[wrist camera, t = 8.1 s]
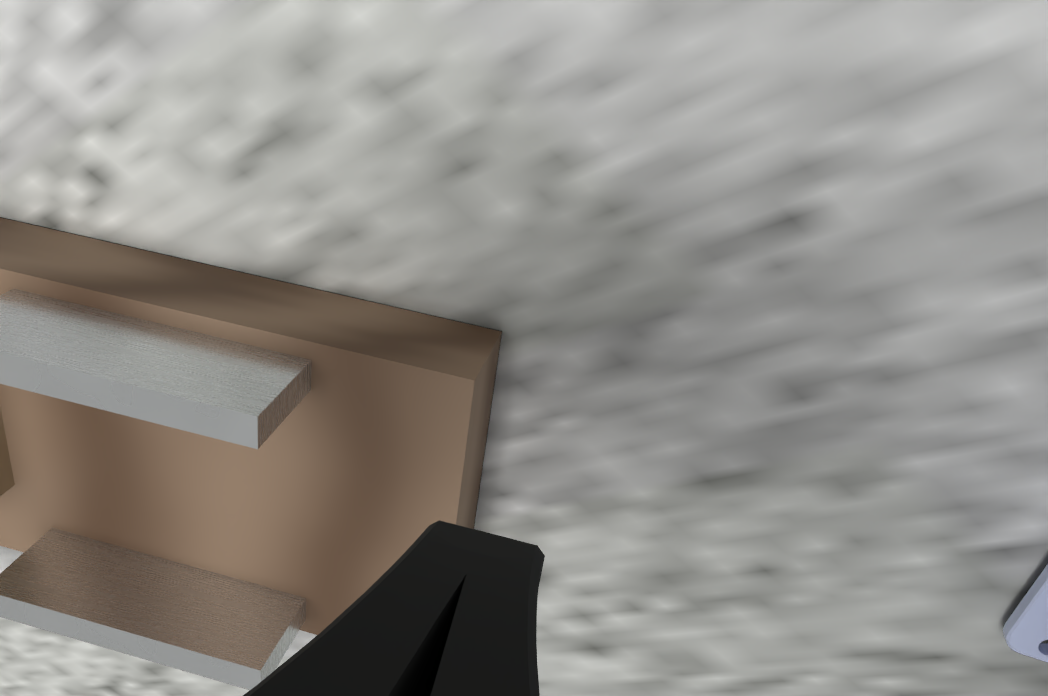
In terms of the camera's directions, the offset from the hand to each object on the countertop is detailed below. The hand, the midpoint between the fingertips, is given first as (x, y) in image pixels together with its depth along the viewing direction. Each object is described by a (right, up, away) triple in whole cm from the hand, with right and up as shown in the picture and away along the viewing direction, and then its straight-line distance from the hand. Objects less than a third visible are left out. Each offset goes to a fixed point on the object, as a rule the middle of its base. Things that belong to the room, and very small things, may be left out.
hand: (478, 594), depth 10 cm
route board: (-13, +2, +14) cm, 19 cm away
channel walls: (-8, 0, +11) cm, 14 cm away
